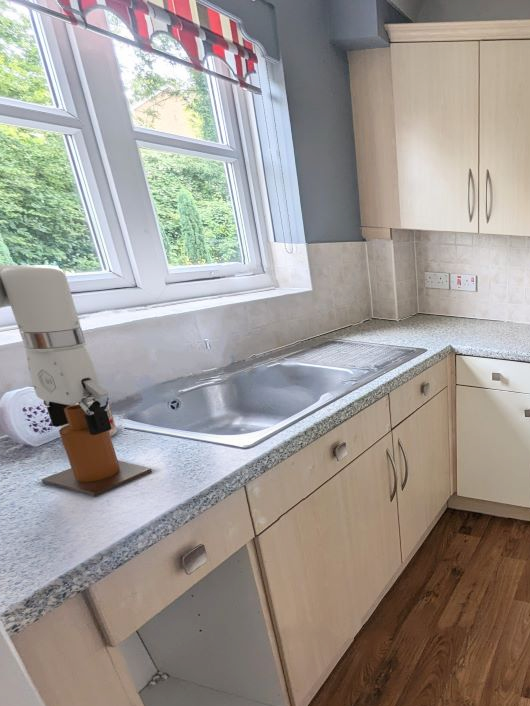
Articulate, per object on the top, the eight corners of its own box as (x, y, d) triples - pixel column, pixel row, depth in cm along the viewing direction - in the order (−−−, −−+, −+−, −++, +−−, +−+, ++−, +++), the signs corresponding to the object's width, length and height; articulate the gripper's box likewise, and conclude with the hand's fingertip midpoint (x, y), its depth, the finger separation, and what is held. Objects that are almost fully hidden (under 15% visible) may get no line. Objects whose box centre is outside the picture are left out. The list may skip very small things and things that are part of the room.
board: (42, 482, 86) (41, 479, 86) (102, 459, 95) (101, 456, 95) (95, 497, 82) (93, 493, 82) (152, 471, 91) (151, 468, 91)
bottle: (66, 478, 86) (43, 410, 81) (104, 463, 92) (84, 399, 87) (90, 484, 85) (68, 415, 80) (128, 468, 90) (108, 403, 86)
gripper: (-8, 337, 78) (25, 428, 84) (62, 348, 74) (92, 443, 79) (47, 329, 85) (74, 414, 91) (114, 339, 80) (138, 428, 86)
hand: (82, 428), depth 85 cm, fingers open, 9 cm apart
